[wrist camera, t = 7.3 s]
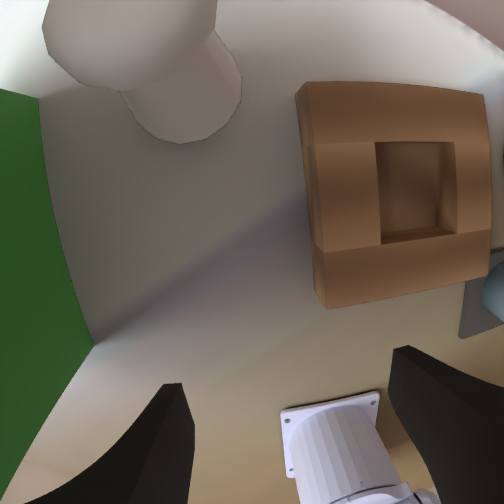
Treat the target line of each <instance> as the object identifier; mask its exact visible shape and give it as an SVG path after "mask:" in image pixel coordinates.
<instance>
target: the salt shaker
mask: <svg viewBox="0 0 504 504" xmlns="http://www.w3.org/2000/svg"><path fill="white" fill-rule="evenodd" d="M216 8H217V0H49V3H48V7H47V10H46V13H45V17H44V20H43V24H42V31H43V35H44V39H45V43H46V47H47V51H48V54H49V55H50V56H51V57H52V58H53V59H54V61H55V62H56V63H57V64H58V65H60V66H61V67H62V68H63V69H64V70H65V71H67V72H68V73H69V74H70V75H71V76H72V77H74V78H75V79H76V80H77V81H78V82H79V83H82V84H85V85H87V86H90V87H97V88H105V89H112V90H119V92H120V94H121V95H122V97H123V99H124V100H125V102H126V104H127V106H128V107H129V109H130V111H131V112H132V114H133V116H134V118H135V119H136V121H137V123H138V124H139V125H141V126H142V127H143V128H144V129H145V130H146V131H148V132H149V133H150V134H151V135H152V136H154V137H155V138H156V139H161V140H165V141H170V142H174V143H178V144H182V143H187V142H192V141H197V140H203V139H206V138H208V137H209V136H211V135H212V134H213V133H215V132H216V131H217V130H219V129H220V128H222V127H223V126H224V125H226V124H227V123H228V121H229V120H230V118H231V116H232V115H233V113H234V112H235V110H236V109H237V107H238V105H239V104H240V102H241V85H242V77H241V75H240V72H239V70H238V68H237V65H236V63H235V61H234V58H233V56H232V55H231V53H230V52H229V50H228V49H227V48H226V46H225V45H224V43H223V42H222V40H221V39H220V38H219V36H218V35H217V33H216V32H215V31H214V28H215V18H216Z"/></svg>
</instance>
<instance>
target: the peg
mask: <svg viewBox="0 0 504 504" xmlns="http://www.w3.org/2000/svg"><path fill="white" fill-rule="evenodd" d="M482 303H483V306H484V307H485V308H486V309H487V310H488V311H490V312H491V313H493V314H494V315H495V316H497V317H498V318H499V319H501V320H502V321H504V263H500V264H498V265H497V266H495V267H494V268H493V269H492V270H491V272H490V273H489V274H488V276H487V278H486V280H485V283H484V285H483V289H482Z"/></svg>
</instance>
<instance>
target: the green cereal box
mask: <svg viewBox="0 0 504 504" xmlns="http://www.w3.org/2000/svg"><path fill="white" fill-rule="evenodd" d="M93 347H94V344H93V342H92V339H91V337H90V334H89V331H88V329H87V326H86V323H85V321H84V318H83V315H82V312H81V309H80V306H79V303H78V300H77V297H76V294H75V291H74V288H73V285H72V282H71V278H70V275H69V272H68V268H67V265H66V261H65V258H64V254H63V250H62V246H61V242H60V239H59V234H58V230H57V226H56V222H55V217H54V213H53V208H52V203H51V198H50V193H49V187H48V182H47V176H46V169H45V163H44V156H43V148H42V140H41V131H40V120H39V108H38V99H37V98H33V97H30V96H26V95H22V94H19V93H15V92H11V91H7V90H3V89H0V501H1V499H2V497H3V494H4V493H5V491H6V489H7V487H8V485H9V483H10V481H11V479H12V477H13V476H14V474H15V472H16V470H17V468H18V467H19V465H20V463H21V461H22V459H23V458H24V456H25V454H26V452H27V451H28V449H29V447H30V446H31V444H32V442H33V440H34V439H35V437H36V435H37V434H38V432H39V430H40V429H41V427H42V425H43V424H44V422H45V420H46V419H47V417H48V415H49V414H50V412H51V411H52V409H53V407H54V406H55V404H56V403H57V401H58V399H59V398H60V396H61V395H62V393H63V392H64V390H65V389H66V387H67V385H68V384H69V382H70V381H71V379H72V378H73V376H74V375H75V373H76V372H77V370H78V369H79V367H80V366H81V364H82V363H83V361H84V360H85V358H86V357H87V355H88V354H89V352H90V351H91V350H92V348H93Z"/></svg>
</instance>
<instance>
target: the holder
mask: <svg viewBox="0 0 504 504" xmlns="http://www.w3.org/2000/svg"><path fill="white" fill-rule="evenodd" d="M295 98H296V105H297V112H298V120H299V128H300V136H301V144H302V153H303V161H304V171H305V180H306V190H307V200H308V211H309V222H310V234H311V247H312V261H313V276H314V290H315V292H316V293H317V295H318V296H319V298H320V300H321V301H322V303H323V304H324V306H325V308H326V309H327V310H328V309H334V308H339V307H345V306H351V305H356V304H362V303H367V302H372V301H377V300H382V299H387V298H392V297H397V296H402V295H407V294H411V293H416V292H421V291H425V290H430V289H434V288H438V287H443V286H447V285H451V284H455V283H460V282H464V281H468V280H472V279H476V278H480V277H483V276H487V275H488V266H489V256H490V242H491V222H492V177H491V157H490V144H489V133H488V124H487V117H486V109H485V103H484V96H483V95H482V94H477V93H471V92H465V91H459V90H452V89H445V88H437V87H429V86H420V85H409V84H396V83H379V82H344V81H332V82H306V83H305V84H304V85H303V86H302V87H301V88H300V89H299V90H298V92H297V93H296V94H295Z"/></svg>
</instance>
